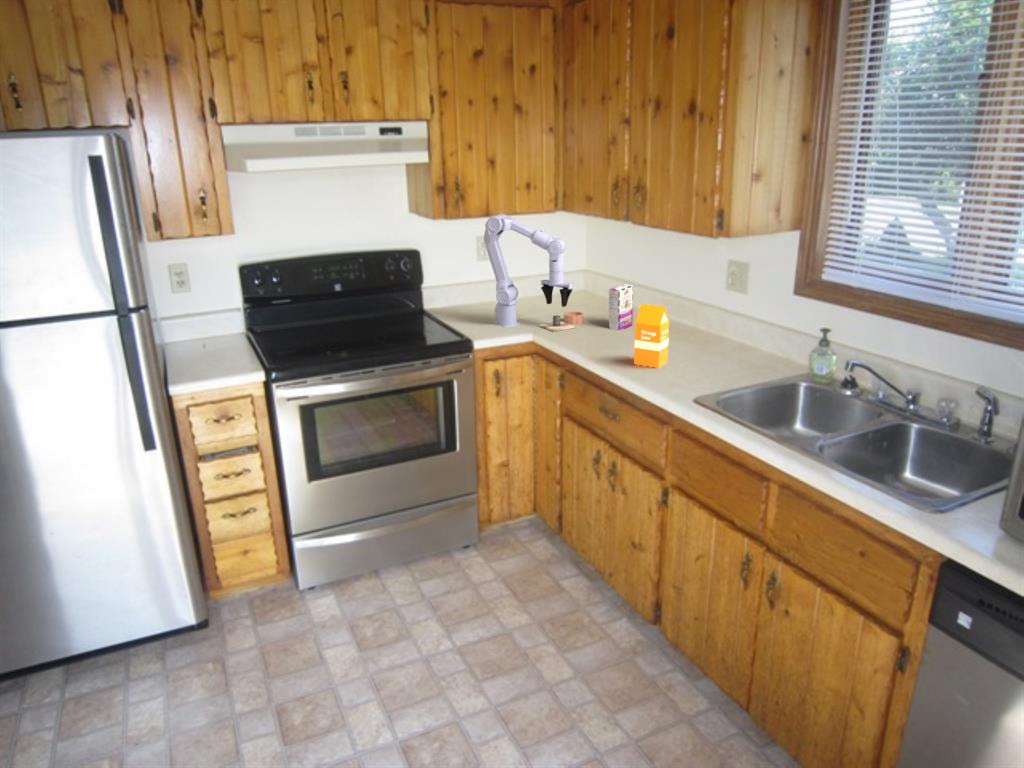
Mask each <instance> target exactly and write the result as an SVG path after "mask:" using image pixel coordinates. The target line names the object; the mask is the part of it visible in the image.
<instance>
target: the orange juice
mask: <svg viewBox="0 0 1024 768" xmlns="http://www.w3.org/2000/svg"><path fill="white" fill-rule="evenodd" d="M634 325H635V330H634V332H635V333H634V354H633V355H634V358H633V361H634V362H633V365H634V364H637V365H636V366H639V365H643V366H642V367H646V366H649V367H648V368H652V367H655V368H654V369H658V368H659V367H660V368H662V365H663V366H665V365H666V364H667V363H668V354H669V353H668V352H669V334H670V332H669V331H670V330H669V329H670V320H669V317H668V312H667V307H666V306H665V305H664V306H663V305H655V304H654V305H653V304H647V303H646V304H645V303H640V305H639V309H638V313H637V317H636V320H635V324H634ZM660 368H659V369H660Z"/></svg>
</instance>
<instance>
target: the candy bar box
mask: <svg viewBox="0 0 1024 768" xmlns="http://www.w3.org/2000/svg"><path fill="white" fill-rule="evenodd" d="M633 301H634V285H633V284H625V283H622V284H620V285H617V286H614V287H611V288H609V290H608V307H609V308H608V329H609V330H614V331H621V330H623V329H626V328H630V327H631V326H633V321H634V320H633V319H634V318H633V317H634V315H633V313H634V312H633V308H634V307H633V305H634V304H633V303H634V302H633Z"/></svg>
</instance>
